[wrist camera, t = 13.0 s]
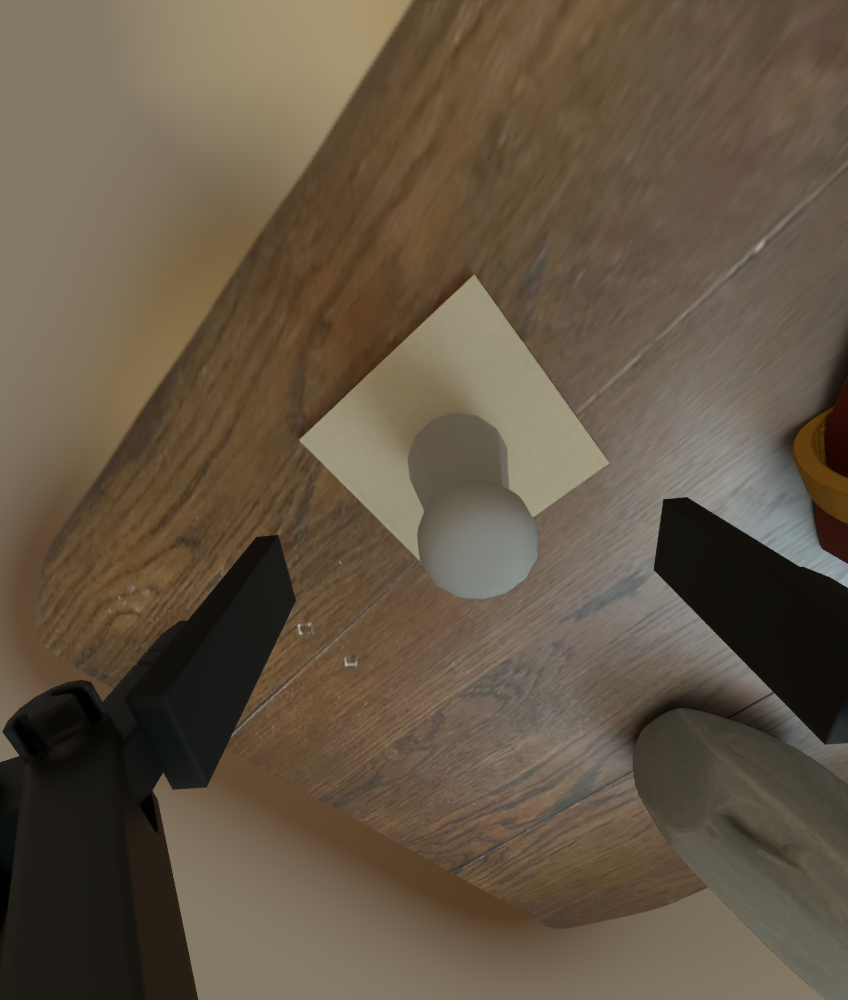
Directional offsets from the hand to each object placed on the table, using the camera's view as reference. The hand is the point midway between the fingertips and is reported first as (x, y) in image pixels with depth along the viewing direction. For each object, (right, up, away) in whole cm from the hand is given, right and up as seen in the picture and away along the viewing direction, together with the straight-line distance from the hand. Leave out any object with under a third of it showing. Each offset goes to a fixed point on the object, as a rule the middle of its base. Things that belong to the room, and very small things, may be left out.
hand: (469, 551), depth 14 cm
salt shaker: (0, +5, +12) cm, 13 cm away
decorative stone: (+24, -21, +22) cm, 39 cm away
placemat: (0, +5, +12) cm, 13 cm away
